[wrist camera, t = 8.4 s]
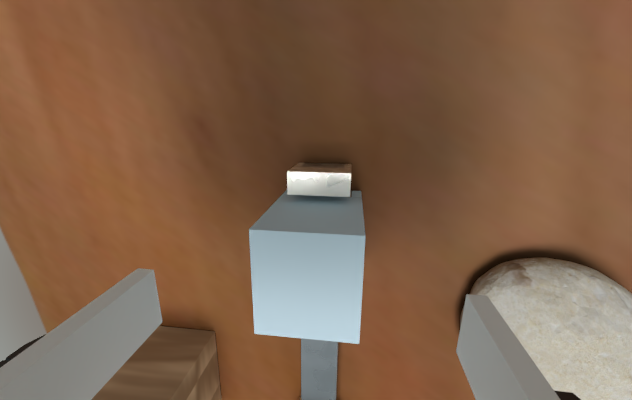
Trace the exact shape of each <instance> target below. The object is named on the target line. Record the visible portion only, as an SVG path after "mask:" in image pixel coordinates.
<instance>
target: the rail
mask: <svg viewBox="0 0 632 400" xmlns="http://www.w3.org/2000/svg"><path fill="white" fill-rule="evenodd" d="M351 165H352V164H333V163H297V164H296V165H295V166H293V167H292V168H291V169H290V170H288V171H287V195H309V196H334V197H350V188H351ZM337 369H338V342H334V341H324V340H314V339H303V338H301V397H300V398H299V400H336V398H337Z"/></svg>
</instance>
